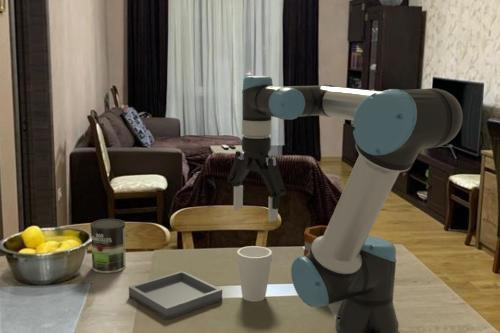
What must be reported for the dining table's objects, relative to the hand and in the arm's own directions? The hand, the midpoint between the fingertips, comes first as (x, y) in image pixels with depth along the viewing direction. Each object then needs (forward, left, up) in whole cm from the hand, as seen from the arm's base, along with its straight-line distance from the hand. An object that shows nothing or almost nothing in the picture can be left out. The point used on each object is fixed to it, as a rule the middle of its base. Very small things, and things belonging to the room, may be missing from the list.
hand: (254, 214), depth 159 cm
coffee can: (+45, +19, -24) cm, 54 cm away
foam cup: (0, 0, -24) cm, 24 cm away
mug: (-7, -26, -24) cm, 36 cm away
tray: (+13, +17, -23) cm, 32 cm away
